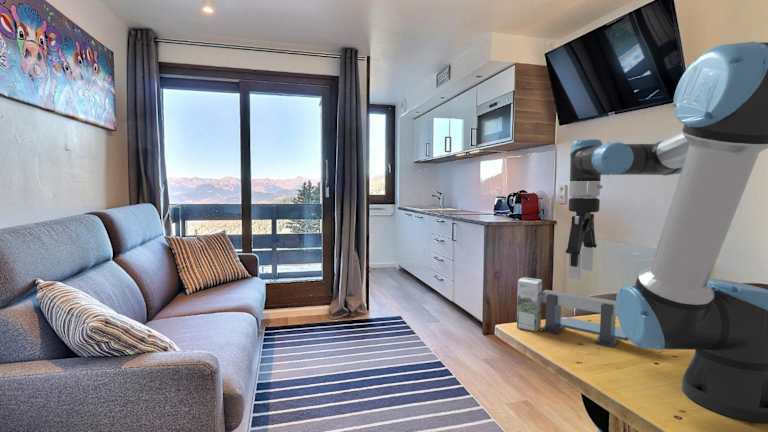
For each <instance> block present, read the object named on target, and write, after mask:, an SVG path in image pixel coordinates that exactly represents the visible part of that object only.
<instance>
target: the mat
mask: <svg viewBox="0 0 768 432" xmlns="http://www.w3.org/2000/svg"><path fill="white" fill-rule="evenodd" d="M562 318H567V319H562ZM561 325H565V326H564V328H566V329H567V328H568V329H573V330H577V331H582V332H586V333H590V334H591V333H592V334H595V335H600V323H597V322H593V321H587V320H583V319H577V318H572V317H567V316H562V315H561ZM615 336H617V337H619V340H623V341H625V340H626V339H628V338H627V336H626V335H625V333H624V332H623V330H622V328H621V327H618V326H615Z"/></svg>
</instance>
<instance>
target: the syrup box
mask: <svg viewBox="0 0 768 432" xmlns="http://www.w3.org/2000/svg"><path fill="white" fill-rule="evenodd" d="M542 288H543V279H539V278H531V277H525V276H524V277H521V278H519V279H518V280H517V298H516V299H517V300H516V301H517V304H516V305H517V306H516V329H519V330H525V331H530V332H535V333H537V332H538V330H539V329H540V327H541V326H542V322H541V320H542V319H541V318H542V317H541V315H542V314H541V313H542V302H541V295H542Z"/></svg>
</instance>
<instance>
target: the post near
mask: <svg viewBox="0 0 768 432" xmlns="http://www.w3.org/2000/svg"><path fill="white" fill-rule="evenodd" d="M612 307H613V306H607V305H601V313H600V320H599V321H600V323H599V324H600V334H598V337H596V339H595V341H594V343H595V344H596V345H600V346H605V347H607V348H608V347H610V348H615V347H616V345H617V343H618V342H619V341H620V339H619V337H617V336H615V327H616V316H615V315H612Z"/></svg>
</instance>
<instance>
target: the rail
mask: <svg viewBox="0 0 768 432" xmlns="http://www.w3.org/2000/svg"><path fill="white" fill-rule="evenodd" d="M547 295H548V296H554V297H556V305H560V306H561V307H565V308H566V307H567V308H571V309H576V310H583V311H589V312H593V313H600V314H601V305H607V306H613V307H612V315H615V316H617V312H616V300H612V299H606V298H599V297H593V296H586V295H582V294H581V295H580V294H574V293H568V292H564V291H563V292H562V291H557V290H550V289H544V290H543V291H542V295H541V303H544V304H546V296H547ZM617 317H618V316H617Z"/></svg>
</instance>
